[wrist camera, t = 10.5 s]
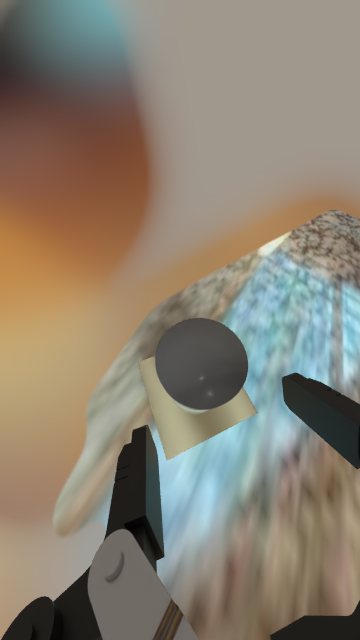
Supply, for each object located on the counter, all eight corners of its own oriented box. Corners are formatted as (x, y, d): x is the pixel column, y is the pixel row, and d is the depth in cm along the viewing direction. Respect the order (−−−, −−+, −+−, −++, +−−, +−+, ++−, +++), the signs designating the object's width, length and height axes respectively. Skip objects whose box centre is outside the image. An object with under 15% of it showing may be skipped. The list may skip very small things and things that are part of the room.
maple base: (208, 343, 25) (211, 332, 22) (247, 414, 21) (257, 412, 18) (143, 370, 24) (137, 362, 21) (169, 454, 19) (166, 460, 16)
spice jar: (204, 354, 21) (217, 307, 12) (229, 401, 18) (268, 381, 10) (161, 373, 20) (143, 336, 11) (181, 425, 17) (176, 428, 9)
